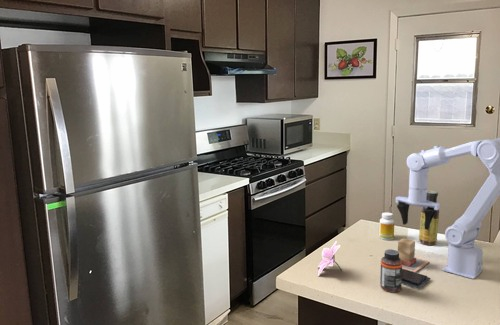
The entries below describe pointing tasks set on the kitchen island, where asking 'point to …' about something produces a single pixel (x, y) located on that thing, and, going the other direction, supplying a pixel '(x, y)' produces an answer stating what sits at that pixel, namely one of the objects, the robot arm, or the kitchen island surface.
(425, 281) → the ink pad
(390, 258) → the supplement bottle
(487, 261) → the kitchen island surface
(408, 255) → the stamp
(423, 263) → the mat
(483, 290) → the kitchen island surface
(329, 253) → the lily
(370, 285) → the kitchen island surface
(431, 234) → the tonic bottle
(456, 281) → the kitchen island surface
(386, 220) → the supplement bottle
